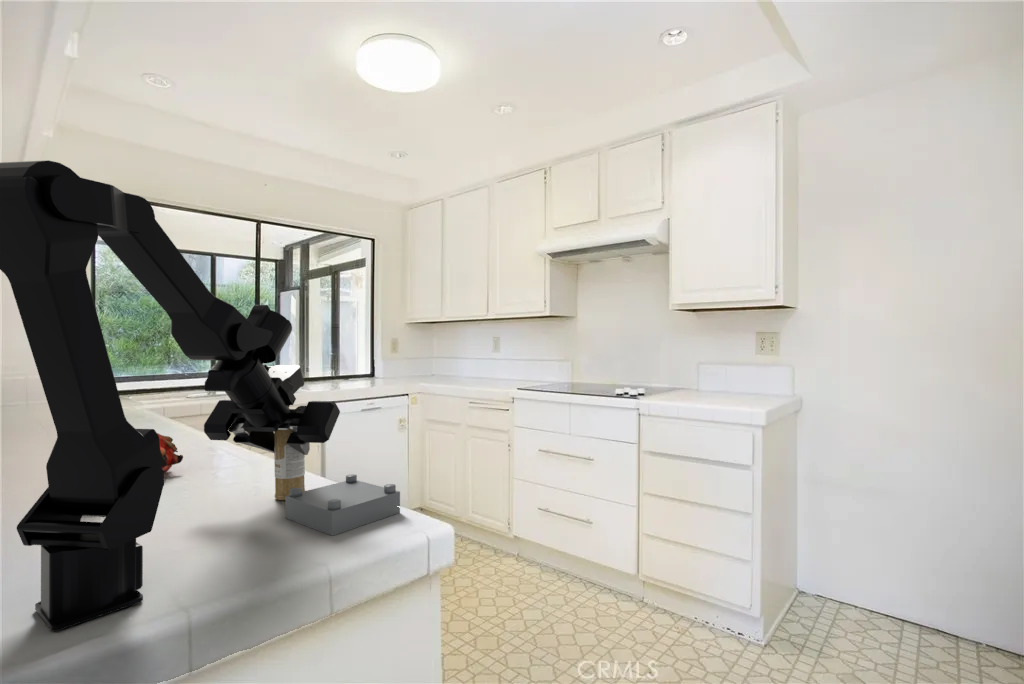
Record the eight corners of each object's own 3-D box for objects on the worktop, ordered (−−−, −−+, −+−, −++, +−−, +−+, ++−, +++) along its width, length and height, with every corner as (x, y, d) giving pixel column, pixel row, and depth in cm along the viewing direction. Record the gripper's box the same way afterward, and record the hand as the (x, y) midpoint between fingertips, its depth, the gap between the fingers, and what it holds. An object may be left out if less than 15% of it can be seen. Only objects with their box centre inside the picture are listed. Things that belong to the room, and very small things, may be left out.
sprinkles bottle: (271, 496, 81) (269, 411, 81) (301, 490, 83) (299, 408, 83) (278, 503, 77) (276, 414, 77) (309, 497, 80) (307, 410, 80)
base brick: (331, 535, 64) (331, 504, 64) (285, 517, 71) (285, 489, 71) (400, 512, 73) (400, 485, 73) (352, 498, 80) (352, 473, 80)
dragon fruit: (145, 476, 99) (163, 498, 91) (101, 457, 93) (117, 478, 85) (177, 438, 102) (197, 456, 94) (136, 417, 96) (154, 434, 89)
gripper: (334, 347, 75) (364, 412, 86) (217, 346, 78) (261, 410, 88) (306, 406, 67) (343, 470, 78) (177, 404, 70) (230, 467, 81)
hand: (293, 452), depth 82 cm, fingers closed on sprinkles bottle, 4 cm apart
